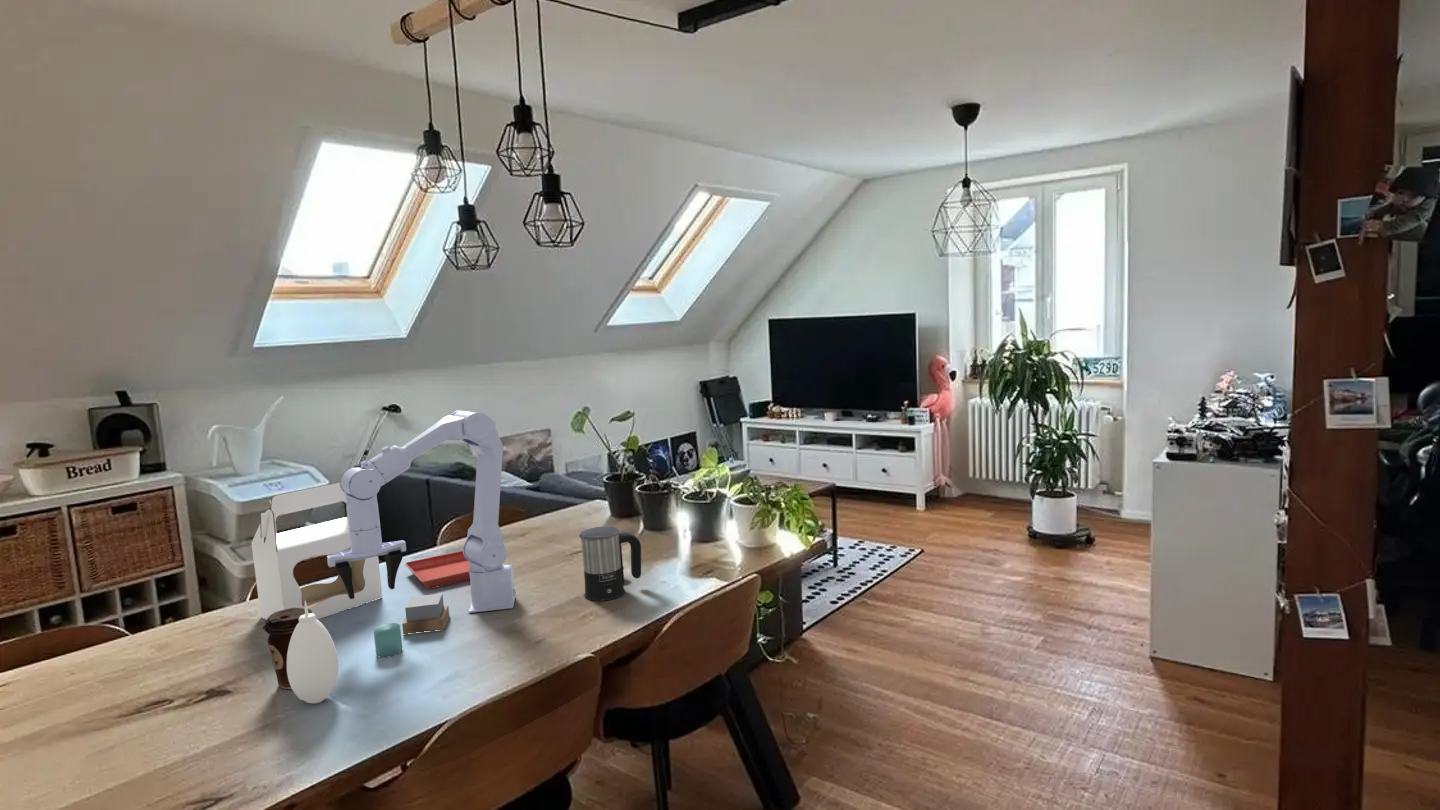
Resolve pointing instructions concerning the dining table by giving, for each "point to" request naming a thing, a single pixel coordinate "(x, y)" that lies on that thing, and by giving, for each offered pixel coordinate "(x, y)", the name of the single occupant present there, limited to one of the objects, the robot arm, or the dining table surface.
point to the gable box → (288, 548)
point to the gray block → (424, 607)
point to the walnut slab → (427, 623)
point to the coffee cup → (282, 639)
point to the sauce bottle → (311, 660)
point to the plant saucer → (441, 569)
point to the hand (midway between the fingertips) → (371, 592)
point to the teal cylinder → (388, 639)
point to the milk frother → (607, 561)
